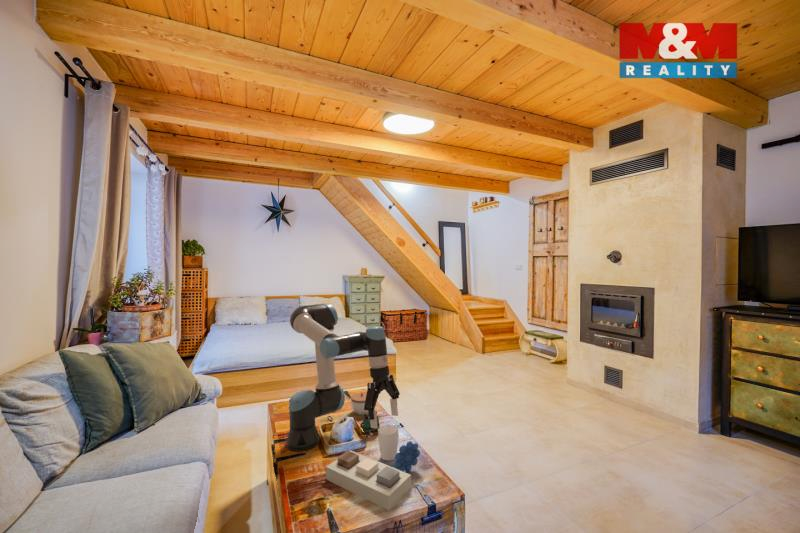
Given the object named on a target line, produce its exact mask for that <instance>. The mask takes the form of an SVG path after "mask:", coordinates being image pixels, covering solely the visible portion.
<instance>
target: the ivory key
mask: <svg viewBox="0 0 800 533" xmlns="http://www.w3.org/2000/svg"><path fill="white" fill-rule="evenodd" d="M377 471H378V463H377V462H375V461H372V460H370V459H367V458H366V459H364V460H363V461H362V462H360V463H359V464H358V465H356V473H357V474H359V475H362V476H364V477H366V478H368V479H369V478H370V477H371V476H372V475H374V474H375V473H376V472H377Z"/></svg>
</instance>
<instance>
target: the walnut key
mask: <svg viewBox="0 0 800 533" xmlns="http://www.w3.org/2000/svg"><path fill="white" fill-rule="evenodd" d="M353 452H354V451H353ZM353 452H350V450H347V451H345V452H343V453H342V454H341V455H339V456H338V457H337V459H338V465H339V466H341V467H344V468H346V469H348V470H349V469H350V468H352V467H353V466H355V465H356V464H357V463H359V455H358V454H359V453H358V454H355V453H353Z"/></svg>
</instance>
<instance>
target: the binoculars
mask: <svg viewBox="0 0 800 533" xmlns="http://www.w3.org/2000/svg"><path fill="white" fill-rule="evenodd" d="M377 414H378V412H377V411H376V416H377V426H378V428H377V429H376V428H371V424H370V419H369V413H367V414H364V415H363V416H364V417H363V420H362V422H361V423H360V425H359V427H360V428H361V430H362V429H363V431H364V432H365V433H364V436H365V435H366V436H367V437H366V438H369V437H368V436H370V437H371V432H373V435H375V436H378V435H377V434H378V429H379V428H380V427H381V426H380V422H379V420H380V419H379V418H380V417H379V415H377Z"/></svg>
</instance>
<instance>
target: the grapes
mask: <svg viewBox="0 0 800 533" xmlns="http://www.w3.org/2000/svg"><path fill="white" fill-rule="evenodd" d="M420 455H421V452H420V450H419V444H418V443H417V442H415V443H413V442H412V441H408V442H406V444H405V445H404V444H402V445H400V447H399V452H397V454H396V455H395V459H394V461H395V462H394V464H393V468H395V469H398V470H400V471H403V472H405V473H409V472H411V471H412V467H415V466H416V465H417V463H418V457H420Z"/></svg>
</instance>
